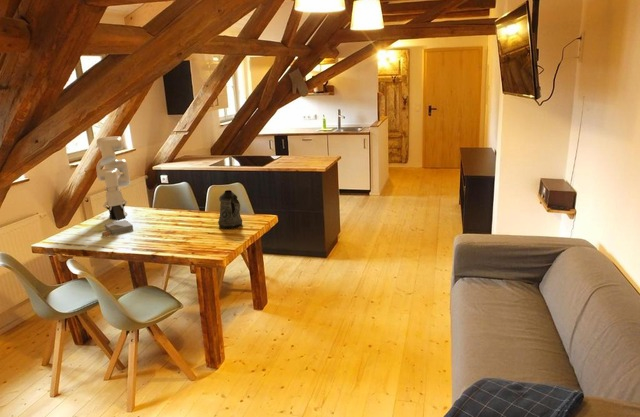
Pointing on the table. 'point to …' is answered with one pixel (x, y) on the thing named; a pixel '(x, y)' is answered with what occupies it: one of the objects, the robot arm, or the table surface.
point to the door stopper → (117, 213)
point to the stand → (119, 227)
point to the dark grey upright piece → (229, 211)
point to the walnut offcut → (106, 233)
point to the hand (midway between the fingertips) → (116, 214)
